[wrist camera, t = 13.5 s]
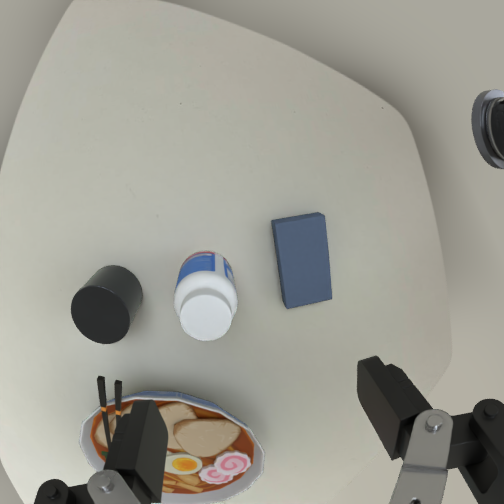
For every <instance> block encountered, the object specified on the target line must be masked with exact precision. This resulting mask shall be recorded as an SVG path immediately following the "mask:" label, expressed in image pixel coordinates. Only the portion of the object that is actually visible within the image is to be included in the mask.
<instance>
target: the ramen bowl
mask: <svg viewBox="0 0 504 504" xmlns="http://www.w3.org/2000/svg"><path fill="white" fill-rule="evenodd" d="M97 384H98V392H99V399H100V406H99V407H98V408H97V409H96V410H95V411H94V412H93V413H91V414H90V415H89V416H88V417H87V418H86V419H85V420H84V421H83V422H82V425H81V431H80V438H79V445H80V447H81V449H82V451H83V453H84V455H85V457H86V459H87V461H88V463H89V464H90V465H91V466H92V467H93V468H94V469H95V470H96V471H97V472H99V471H101V470H103V468H104V464H105V461H106V457H107V454H108V451H109V447H110V444H111V442H112V437H113V434H114V431H115V428H116V425H117V422H118V421H119V420H120V418H121V417H122V416H123V415H124V414H126V413H130V412H131V408H132V405H133V402H134V401H136V400H149V399H153V400H154V401H155V403H156V405H157V407H158V409H159V411H160V413H161V416H162V418H163V420H164V422H165V424H166V426H167V430H168V446H167V454H166V462H165V471H164V479H163V488H162V498H161V503H162V504H210V503H215V502H220V501H225V500H227V499H230V498H232V497H234V496H236V495H238V494H240V493H242V492H244V491H246V490H247V489H249V488H250V487H251V486H252V484H253V483H254V482H255V481H256V480H257V479H258V478H259V477H260V475H261V474H262V473H263V470H264V459H265V451H264V449H263V448H262V446H261V445H260V443H259V441H258V440H257V438H256V436H255V435H254V433H253V432H252V430H251V429H250V428H249V427H248V426H247V425H246V424H245V423H243V422H242V421H240V420H239V419H237V418H236V417H234V416H232V415H231V414H229V413H228V412H226V411H225V410H223V409H221V408H220V407H218V406H217V405H215V404H214V403H212V402H210V401H207V400H203V399H200V398H197V397H193V396H190V395H187V394H184V393H181V392H165V391H143V392H139V393H135V394H131V395H127V396H123V397H122V381H119V380H116V381H115V384H114V385H115V399H112V400H109V401H107V402H106V390H105V377H103V376H98V378H97Z"/></svg>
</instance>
